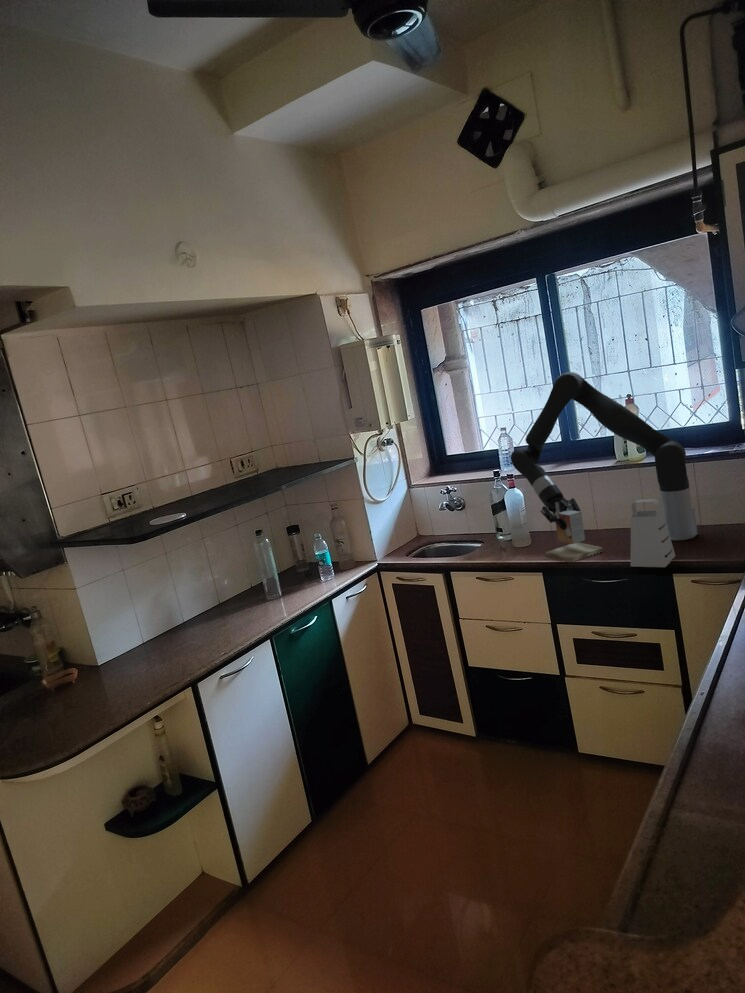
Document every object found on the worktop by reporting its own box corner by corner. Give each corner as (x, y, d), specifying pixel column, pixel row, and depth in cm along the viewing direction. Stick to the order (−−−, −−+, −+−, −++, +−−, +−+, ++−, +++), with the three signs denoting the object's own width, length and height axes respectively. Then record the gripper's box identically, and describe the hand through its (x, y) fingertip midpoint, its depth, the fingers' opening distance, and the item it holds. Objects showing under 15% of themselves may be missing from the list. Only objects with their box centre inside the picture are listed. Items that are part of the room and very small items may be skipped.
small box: (557, 541, 237) (553, 512, 235) (570, 537, 239) (565, 509, 237) (573, 544, 230) (569, 515, 228) (585, 540, 232) (581, 511, 230)
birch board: (577, 545, 244) (577, 542, 244) (603, 551, 231) (602, 547, 231) (546, 556, 239) (545, 552, 239) (570, 562, 226) (570, 558, 226)
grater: (642, 556, 218) (634, 497, 215) (675, 556, 211) (667, 495, 208) (630, 566, 210) (622, 505, 207) (665, 567, 203) (656, 504, 200)
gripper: (533, 488, 236) (559, 525, 227) (566, 479, 241) (593, 515, 231) (527, 502, 242) (552, 537, 232) (560, 492, 246) (585, 527, 237)
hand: (572, 526), depth 232 cm, fingers closed on small box, 6 cm apart
